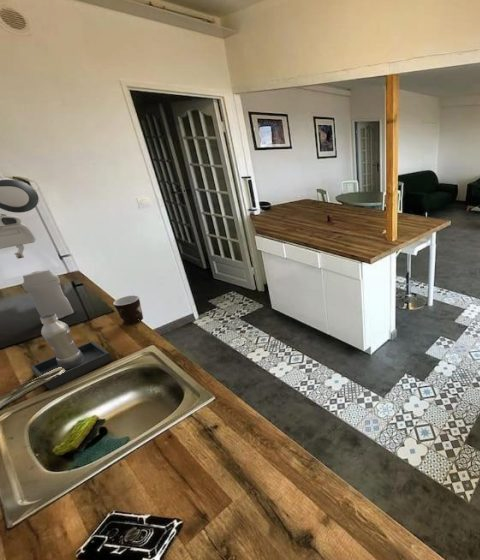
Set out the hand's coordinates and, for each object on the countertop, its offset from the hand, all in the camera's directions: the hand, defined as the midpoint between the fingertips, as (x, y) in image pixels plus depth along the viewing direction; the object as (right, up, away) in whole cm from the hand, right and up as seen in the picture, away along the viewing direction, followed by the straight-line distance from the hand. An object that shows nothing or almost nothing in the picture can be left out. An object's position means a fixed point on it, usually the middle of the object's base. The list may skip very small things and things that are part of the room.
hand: (0, 262), depth 105 cm
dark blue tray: (+22, -37, +3) cm, 43 cm away
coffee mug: (+20, -25, +29) cm, 43 cm away
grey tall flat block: (-14, -23, +32) cm, 41 cm away
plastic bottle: (+22, -36, +3) cm, 42 cm away
